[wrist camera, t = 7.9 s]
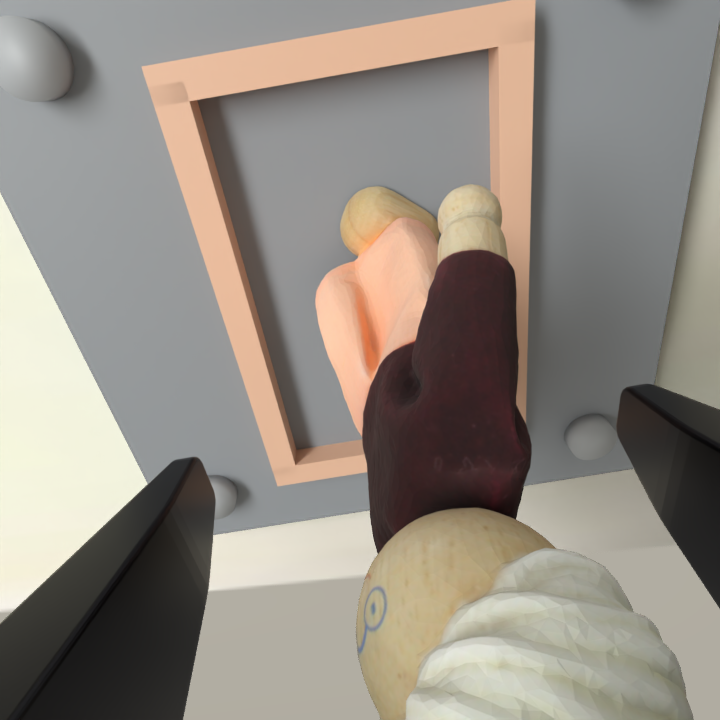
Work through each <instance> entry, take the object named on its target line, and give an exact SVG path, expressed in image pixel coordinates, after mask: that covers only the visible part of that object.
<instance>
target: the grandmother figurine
mask: <svg viewBox="0 0 720 720" xmlns="http://www.w3.org/2000/svg"><path fill="white" fill-rule="evenodd" d="M501 224H502V209H501V206H500V202H499V200H498V198H497V197H496V196H495V195H494V194H493V193H492V192H491V191H490V190H488V189H487V188H485V187H483V186H480V185H473V184H468V185H464V186H461V187H459V188H456V189H454V190H452V191H451V192H450V193H449V194H448V195H447V196H446V197H445V199H444V200H443V201H442V204H441V206H440V208H439V211H438V223H437V221H436V219H435V218H434V217H433V216H432V215H431V214H430V213H429V212H427V211H426V210H424V209H423V208H421V207H419V206H418V205H416V204H414V203H413V202H411V201H409V200H408V199H406V198H404V197H403V196H401V195H399V194H397V193H396V192H394V191H392V190H389V189H387V188H385V187H380V186H375V187H367V188H365V189H362V190H360V191H358V192H357V193H356V194H355V195H353V197H352V198H351V199H350V200H349V201H348V203H347V205H346V207H345V210H344V212H343V215H342V218H341V222H340V231H341V237H342V239H343V242H344V244H345V246H346V247H347V248H348V250H349V251H350V252H352V253H353V254H355V255H356V256H358V258H357V259H356V260H355V261H354V262H349V263H346V264H343V265H341V266H338V267H336V268H335V269H333V270H331V271H330V272H329V273H327V274H326V275H325V277H324V278H323V280H322V281H321V283H320V285H319V287H318V289H317V291H316V298H315V304H316V311H317V317H318V324H319V328H320V331H321V334H322V338H323V341H324V345H325V348H326V351H327V354H328V357H329V359H330V361H331V364H332V366H333V368H334V370H335V372H336V374H337V377H338V379H339V382H340V385H341V388H342V391H343V395H344V398H345V400H346V403H347V406H348V408H349V411H350V413H351V416H352V419H353V422H354V424H355V426H356V428H357V430H358V432H359V433H360V435H361V436H362V443H363V450H364V454H365V458H366V463H367V475H368V490H369V504H370V518H371V525H372V532H373V537H374V542H375V545H376V549H377V552H378V555H377V556H376V558H375V559H374V561H373V563H372V564H371V566H370V568H369V570H368V573H367V575H366V577H365V581H364V584H363V588H362V591H361V595H360V598H359V604H358V612H357V623H356V640H357V651H358V658H359V662H360V666H361V670H362V674H363V677H364V680H365V683H366V685H367V688H368V691H369V694H370V696H371V698H372V700H373V702H374V704H375V706H376V708H377V710H378V712H379V715H380V720H693V714H692V711H691V709H690V706H689V703H688V701H687V698H686V690H685V683H684V681H683V677H682V672H681V668H680V665H679V663H678V661H677V658H676V656H675V654H674V653H673V652H672V651H671V650H670V649H669V648H668V647H667V646H666V645H665V644H664V643H663V641H662V639H661V636H660V634H659V631H658V629H657V627H656V626H655V625H654V623H653V622H652V621H650V620H649V619H648V618H646V617H645V616H643V615H640V614H637V613H634V612H633V609H632V606H631V604H630V602H629V601H628V599H627V597H626V595H625V593H624V592H623V590H622V588H621V587H620V585H619V583H618V582H617V580H616V579H615V578H614V577H613V576H612V575H611V573H610V572H609V571H608V570H607V569H606V568H605V567H604V566H602V565H600V564H599V563H597V562H595V561H593V560H591V559H589V558H587V557H585V556H582V555H580V554H578V553H575V552H572V551H567V550H561V549H556V548H555V547H554V546H553V545H552V544H551V543H550V542H549V541H547V540H546V539H545V538H544V537H543V536H542V535H540V534H539V533H537V532H536V531H535V530H533V529H532V528H530V527H529V526H527V525H525V524H523V523H521V522H519V521H517V520H516V517H517V512H518V507H519V504H520V500H521V496H522V492H523V487H524V484H525V480H526V477H527V474H528V472H529V469H530V465H531V455H532V444H531V440H530V435H529V433H528V429H527V425H526V423H525V421H524V419H523V417H522V415H521V413H520V411H519V409H518V407H517V405H516V394H517V384H518V368H519V365H518V358H519V349H518V339H517V314H516V298H517V291H516V278H515V271H514V269H513V267H512V265H511V264H510V263H509V261H508V253H507V246H506V240H505V237H504V234H503V232H502V230H501ZM439 231H440V233H441V237H440V240H439V244H438V239H439Z"/></svg>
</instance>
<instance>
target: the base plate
mask: <svg viewBox="0 0 720 720" xmlns="http://www.w3.org/2000/svg"><path fill="white" fill-rule="evenodd" d="M719 22H720V0H0V193H1V195H2V197H3V199H4V201H5V203H6V205H7V206H8V208H9V210H10V212H11V214H12V216H13V218H14V220H15V222H16V224H17V226H18V228H19V230H20V232H21V234H22V236H23V238H24V240H25V242H26V244H27V246H28V248H29V250H30V252H31V254H32V256H33V258H34V260H35V262H36V264H37V266H38V268H39V270H40V272H41V274H42V276H43V278H44V280H45V282H46V284H47V286H48V287H49V289H50V291H51V293H52V295H53V297H54V299H55V301H56V303H57V305H58V307H59V309H60V311H61V313H62V315H63V317H64V319H65V321H66V323H67V325H68V327H69V329H70V331H71V333H72V335H73V337H74V339H75V341H76V343H77V345H78V347H79V349H80V351H81V353H82V355H83V357H84V359H85V361H86V363H87V365H88V367H89V368H90V370H91V372H92V374H93V376H94V378H95V380H96V382H97V384H98V386H99V388H100V390H101V392H102V394H103V396H104V398H105V400H106V402H107V404H108V406H109V408H110V410H111V412H112V414H113V416H114V418H115V420H116V422H117V424H118V426H119V428H120V430H121V432H122V434H123V436H124V438H125V440H126V442H127V444H128V446H129V448H130V450H131V451H132V453H133V455H134V457H135V459H136V461H137V463H138V465H139V467H140V469H141V471H142V473H143V475H144V477H145V479H146V481H147V483H148V484H149V483H150V482H151V481H152V480H153V479H154V478H155V477H156V476H157V475H158V474H159V473H160V472H161V471H162V470H163V469H164V468H166V467H167V466H168V465H169V464H170V463H171V462H172V461H174V460H176V459H182V458H188V457H198V458H199V459H200V460H201V461H202V463H203V465H204V468H205V470H206V473H207V475H208V477H209V480H210V482H211V485H212V487H213V489H214V493H215V498H216V507H215V519H214V531H213V535H216V534H223V533H229V532H235V531H242V530H248V529H254V528H261V527H267V526H273V525H280V524H286V523H292V522H299V521H305V520H311V519H318V518H324V517H330V516H337V515H343V514H349V513H356V512H362V511H368V510H370V504H369V490H368V475H367V463H366V458H365V454H364V450H363V443H362V436H361V435H360V433H359V432H358V430H357V428H356V426H355V424H354V422H353V419H352V416H351V413H350V411H349V408H348V406H347V403H346V400H345V398H344V395H343V391H342V388H341V385H340V382H339V379H338V377H337V374H336V372H335V370H334V368H333V366H332V364H331V361H330V359H329V357H328V354H327V351H326V348H325V345H324V341H323V338H322V334H321V331H320V328H319V324H318V317H317V311H316V304H315V298H316V291H317V289H318V287H319V285H320V283H321V281H322V280H323V278H324V277H325V275H326V274H327V273H329V272H330V271H331V270H333V269H335V268H336V267H338V266H341V265H343V264H346V263H349V262H354V261H355V260H356V259H357V258H358V256H356V255H355V254H353V253H352V252H350V251H349V250H348V248H347V247H346V246H345V244H344V242H343V239H342V237H341V231H340V222H341V218H342V215H343V212H344V210H345V207H346V205H347V203H348V201H349V200H350V199H351V198H352V197H353V195H355V194H356V193H357V192H358V191H360V190H362V189H365V188H367V187H375V186H380V187H385V188H387V189H389V190H392V191H394V192H396V193H397V194H399V195H401V196H403V197H404V198H406V199H408V200H409V201H411V202H413V203H414V204H416V205H418V206H419V207H421V208H423V209H424V210H426V211H427V212H429V213H430V214H431V215H432V216H433V217H434V218H435V219H436V221H437V223H438V211H439V208H440V206H441V204H442V201H443V200H444V199H445V197H446V196H447V195H448V194H449V193H450V192H451V191H452V190H454V189H456V188H459V187H461V186H464V185H468V184H473V185H480V186H483V187H485V188H487V189H488V190H490V191H491V192H492V193H493V194H494V195H495V196H496V197H497V198H498V200H499V202H500V206H501V209H502V224H501V230H502V232H503V234H504V237H505V240H506V246H507V253H508V261H509V263H510V264H511V265H512V267H513V269H514V271H515V278H516V291H517V298H516V314H517V339H518V349H519V358H518V365H519V368H518V384H517V394H516V405H517V407H518V409H519V411H520V413H521V415H522V417H523V419H524V421H525V423H526V425H527V429H528V433H529V435H530V440H531V444H532V455H531V465H530V469H529V472H528V474H527V477H526V480H525V484H524V486H527V485H533V484H539V483H546V482H552V481H558V480H565V479H571V478H577V477H584V476H590V475H596V474H603V473H609V472H615V471H622V470H628V469H634V468H633V466H632V464H631V462H630V460H629V458H628V456H627V454H626V452H625V450H624V448H623V446H622V445H621V443H620V441H619V438H618V435H617V430H616V424H617V416H618V409H619V402H620V395H621V392H622V390H623V389H624V388H626V387H628V386H634V385H640V384H653V385H654V383H655V377H656V372H657V366H658V361H659V355H660V350H661V344H662V338H663V333H664V327H665V322H666V316H667V311H668V305H669V300H670V294H671V289H672V283H673V277H674V272H675V266H676V261H677V255H678V250H679V244H680V239H681V233H682V227H683V222H684V216H685V211H686V205H687V200H688V194H689V189H690V183H691V177H692V172H693V166H694V161H695V155H696V150H697V144H698V139H699V133H700V128H701V122H702V116H703V111H704V105H705V100H706V94H707V89H708V83H709V78H710V72H711V66H712V61H713V55H714V50H715V44H716V39H717V33H718V28H719ZM440 237H441V233H440V231H439V239H438V244H439V240H440Z"/></svg>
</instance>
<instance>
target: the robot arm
mask: <svg viewBox="0 0 720 720" xmlns="http://www.w3.org/2000/svg"><path fill="white" fill-rule="evenodd" d="M616 430H617V435H618V438H619V441H620V443H621V445H622V446H623V448H624V450H625V452H626V454H627V456H628V458H629V460H630V462H631V464H632V466H633V468H634V470H635V472H636V474H637V475H638V477H639V479H640V481H641V483H642V485H643V487H644V489H645V491H646V493H647V495H648V497H649V499H650V501H651V503H652V504H653V506H654V508H655V510H656V512H657V513H658V515H659V517H660V519H661V520H662V522H663V523H664V525H665V527H666V528H667V530H668V531H669V533H670V534H671V536H672V537H673V539H674V540H675V542H676V543H677V545H678V546H679V548H680V549H681V551H682V552H683V554H684V555H685V557H686V558H687V560H688V561H689V563H690V564H691V566H692V567H693V569H694V570H695V572H696V574H697V575H698V577H699V578H700V579H701V581H702V583H703V584H704V586H705V587H706V589H707V590H708V591H709V593H710V595H711V596H712V598H713V599H714V601H715V602H716V604H717V605H718V607H719V608H720V410H719V409H716V408H714V407H711V406H708V405H706V404H703V403H700V402H698V401H695V400H693V399H690V398H687V397H685V396H682V395H679V394H677V393H674V392H671V391H669V390H666V389H664V388H661V387H658V386H656V385H653V384H640V385H634V386H628V387H626V388H624V389H623V390H622V392H621V395H620V402H619V409H618V416H617V424H616ZM215 507H216V498H215V493H214V489H213V487H212V485H211V482H210V480H209V477H208V475H207V473H206V470H205V468H204V465H203V463H202V461H201V460H200V459H199V458H198V457H188V458H182V459H176V460H174V461H172V462H171V463H170V464H169V465H168V466H167V467H166V468H164V469H163V470H162V471H161V472H160V473H159V474H158V475H157V476H156V477H155V478H154V479H153V480H152V481H151V482H150V483H149V484H148V485H146V486H145V487H144V488H143V489H142V490H141V491H140V492H139V493H138V494H137V495H136V496H135V497H134V498H133V499H132V500H131V501H129V502H128V503H127V504H126V505H125V506H124V507H123V508H122V509H121V510H120V511H119V512H118V513H117V514H116V515H115V516H114V517H113V518H111V519H110V520H109V521H108V522H107V523H106V524H105V525H104V526H103V527H102V528H101V529H100V530H99V531H98V532H97V533H96V534H95V535H93V536H92V537H91V538H90V539H89V540H88V541H87V542H86V543H85V544H84V545H83V546H82V547H81V548H80V549H79V550H78V551H76V552H75V553H74V554H73V555H72V556H71V557H70V558H69V559H68V560H67V561H66V562H65V563H64V564H63V565H62V566H61V567H60V568H58V569H57V570H56V571H55V572H54V573H53V574H52V575H51V576H50V577H49V578H48V579H47V580H46V581H45V582H44V583H43V584H41V585H40V586H39V587H38V588H37V589H36V590H35V591H34V592H33V593H32V594H31V595H30V596H29V597H28V598H27V599H26V600H24V601H23V602H22V603H21V604H20V605H19V606H18V607H17V608H16V609H15V610H14V611H13V612H12V613H11V614H10V615H9V616H8V617H6V618H5V619H4V620H3V621H2V622H1V623H0V720H183V716H184V712H185V706H186V701H187V696H188V691H189V686H190V680H191V676H192V671H193V666H194V661H195V656H196V650H197V645H198V641H199V635H200V630H201V625H202V620H203V615H204V610H205V605H206V599H207V594H208V588H209V578H210V568H211V555H212V543H213V531H214V519H215Z"/></svg>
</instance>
